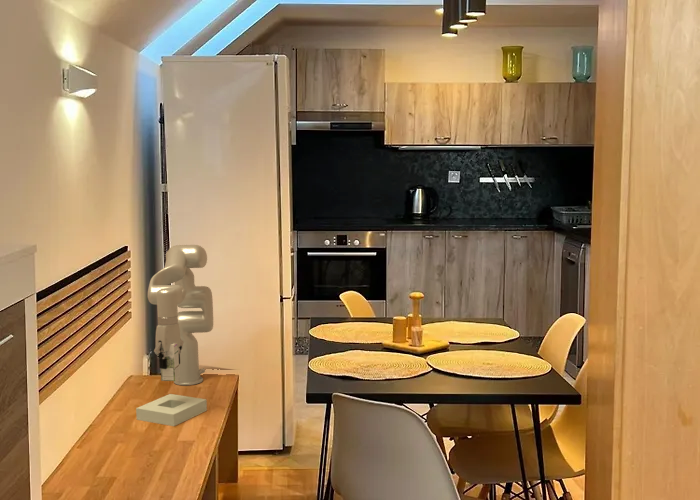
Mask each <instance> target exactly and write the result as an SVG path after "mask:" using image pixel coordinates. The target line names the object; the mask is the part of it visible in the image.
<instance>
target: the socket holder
mask: <svg viewBox="0 0 700 500" xmlns="http://www.w3.org/2000/svg"><path fill="white" fill-rule="evenodd" d="M207 405H208V404H207V399H206V398H201V397H193V396H188V395H182V394H181V395H180V394H173V393H169V394H167V395H164V396H161V397H159V398H157V399H154V400H153V401H150V402H147V403H145V404H143V405H140V406H139V407H135V412H136V420H137V421H143V422H148V423H154V424H157V425H158V424H160V425H165V426H171V427H176V426H178V425H179V424H182V423H184V422H186V421H188V420H190V419H192V418H194V417H196V416H198V415H201V414H202V413H204V412H206V411H208V407H207Z"/></svg>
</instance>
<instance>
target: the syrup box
mask: <svg viewBox="0 0 700 500" xmlns="http://www.w3.org/2000/svg"><path fill="white" fill-rule="evenodd" d="M161 350H164V349H163V348H162V347H161ZM163 353H164V352H162V355H163ZM165 359H167V369H160V378H161V379H160V380H161V382H162V381H163V382H174V381H176V380H177V379H178V378H179V377H180V374H179V353H178V347H177V343H176V342H175V343H173V344H171V345H170V349H169V351H168V352H167V354H166V357H165Z"/></svg>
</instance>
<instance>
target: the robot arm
mask: <svg viewBox="0 0 700 500" xmlns="http://www.w3.org/2000/svg"><path fill="white" fill-rule="evenodd" d="M207 263H208V253H207V251H206V250H205V248H204V247H203V246H201V245H198V244H177V245H173V246H171V247H170V248H168V250H167V251H166V253H165V263H164V264H165V265H164V268H161V269H160V270H159V271H158V272H156V273H155V274H154V275H153V276H152V277H151V278H150V279H149V280H150V281H149V284H148V289H147V299H148V302H149V303H150V304H151V305H156V306H157V310H156V311H157V325H156V329H155V348H154V350H153V353H154V354H155V356H156V358H157V359H158V364H159V366H158V367H159V369H160V370H161V369H167V359H165V357H166V354H167V352H168V351H169V349H170V345H171V344H173V343H175V342H176V343H177V347H178V353H179V374H180V377H179V378H178V379H177V380H176V381H173V383H174V384H175V385H177V386H194V385H197V384H200V383H202V382H203V381H204V378H203V377H202V376H201V375H202V374H203V373H205V372H206V369H205V368H201V369H200V367H199V365H200V363H199V362H200V361H199V344H198V339H197V338H196V336H195V335H194V333H195V334H197V333H198V334H199V333H200V334H201V333H210V332H211V331H212V330H213V329H214V304H213V300H214V299H213V292H212V289H211V288H210V287H209V286H205V285H204V286H203V285H201V286H199V285H197V286H196V284H195V274H194V272H193V271H192V270H191V269H201V268H202V269H203V268H205V266H206V265H207ZM178 308H179V309H180V308H181V309H201V310H185V311H178ZM161 347H162V348H163V349H164V350H161ZM162 352H164V353H163V355H162Z"/></svg>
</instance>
